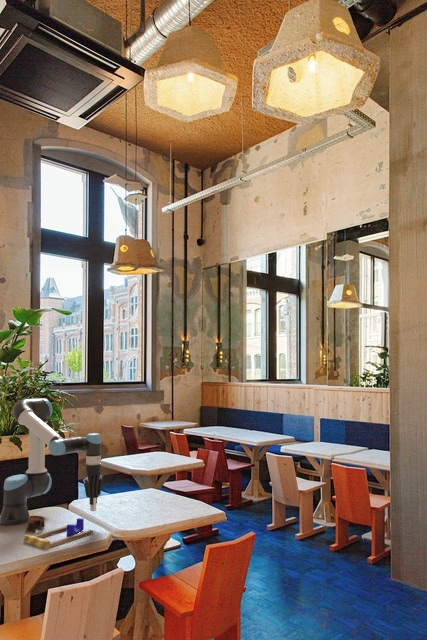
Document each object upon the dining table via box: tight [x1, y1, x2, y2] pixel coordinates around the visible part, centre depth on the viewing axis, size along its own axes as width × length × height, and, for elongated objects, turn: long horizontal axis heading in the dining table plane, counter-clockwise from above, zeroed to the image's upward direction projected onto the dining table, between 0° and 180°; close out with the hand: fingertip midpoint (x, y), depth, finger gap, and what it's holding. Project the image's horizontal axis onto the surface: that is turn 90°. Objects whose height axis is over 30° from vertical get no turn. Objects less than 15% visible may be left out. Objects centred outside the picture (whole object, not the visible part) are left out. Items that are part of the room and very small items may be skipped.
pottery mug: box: [25, 515, 46, 534], centre depth 258 cm, size 12×10×8 cm
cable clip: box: [66, 517, 85, 537], centre depth 252 cm, size 12×4×6 cm, turn 168°
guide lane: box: [23, 525, 94, 550], centre depth 246 cm, size 17×27×3 cm, turn 144°
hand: (93, 510), depth 263 cm, fingers closed
